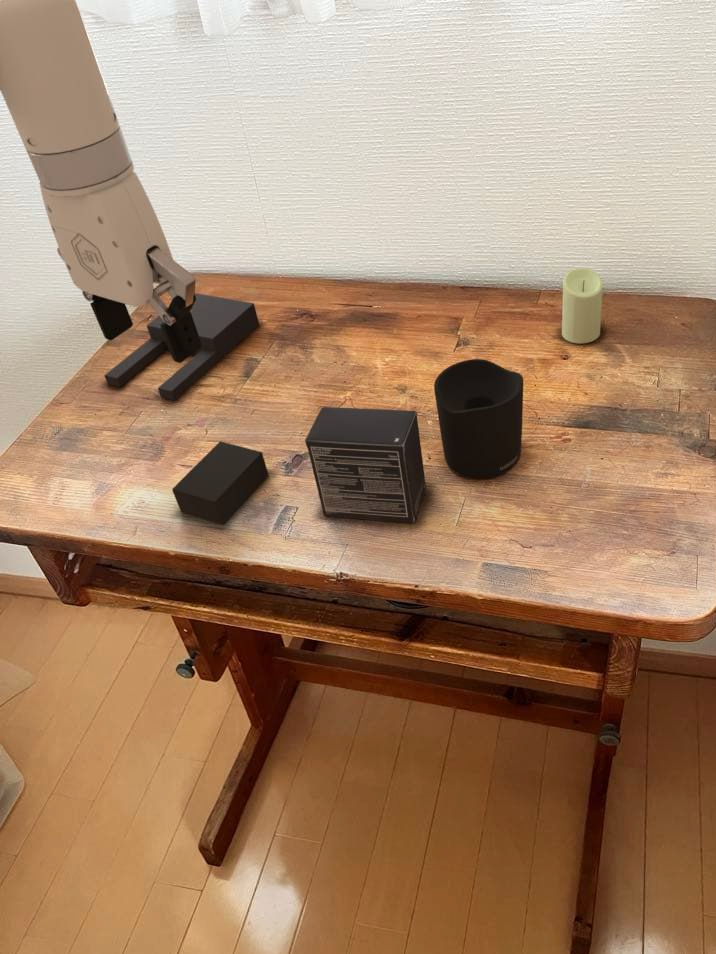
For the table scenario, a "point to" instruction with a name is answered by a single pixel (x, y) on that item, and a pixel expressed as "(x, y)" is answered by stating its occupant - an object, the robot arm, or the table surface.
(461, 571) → the table surface
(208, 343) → the base pad
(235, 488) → the black block
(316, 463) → the small box
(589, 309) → the candle
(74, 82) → the robot arm
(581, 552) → the table surface
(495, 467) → the pen holder
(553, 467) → the table surface
